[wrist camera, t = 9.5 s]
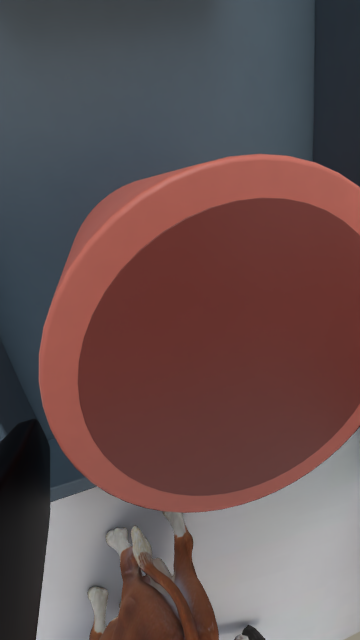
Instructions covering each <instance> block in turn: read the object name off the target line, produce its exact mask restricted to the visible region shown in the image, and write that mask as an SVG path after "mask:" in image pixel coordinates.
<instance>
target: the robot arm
mask: <svg viewBox="0 0 360 640" xmlns="http://www.w3.org/2000/svg"><path fill="white" fill-rule="evenodd" d="M49 519H50V446H49V442H48V440H47V438H46V436H45V434H44V431H43V429H42V427H41V425H40V423H39V421H38V420H37V419H30V420H27V421H23V422H20V423H18V424H17V425H16V426H15V427H14V428H13V429H12V430H11V431H10V432H9V433H8V434H7V435H6V436H5V437H4V439H3V440H2V441H1V442H0V640H36V633H37V624H38V616H39V607H40V598H41V589H42V581H43V572H44V563H45V555H46V546H47V537H48V529H49Z"/></svg>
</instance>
